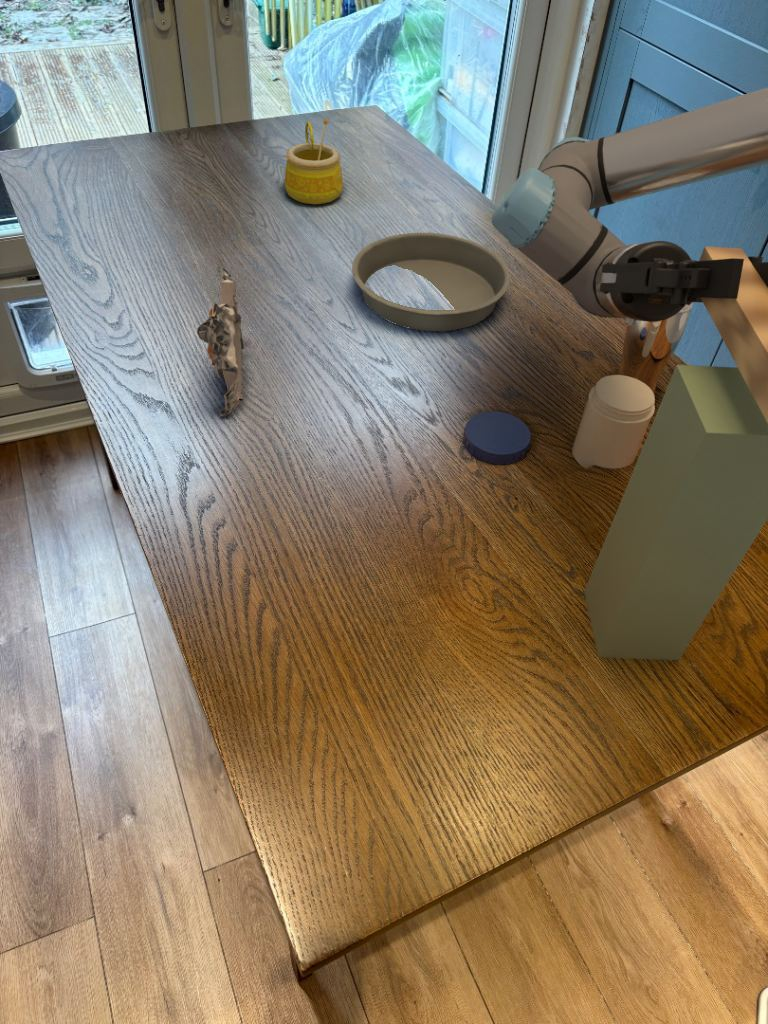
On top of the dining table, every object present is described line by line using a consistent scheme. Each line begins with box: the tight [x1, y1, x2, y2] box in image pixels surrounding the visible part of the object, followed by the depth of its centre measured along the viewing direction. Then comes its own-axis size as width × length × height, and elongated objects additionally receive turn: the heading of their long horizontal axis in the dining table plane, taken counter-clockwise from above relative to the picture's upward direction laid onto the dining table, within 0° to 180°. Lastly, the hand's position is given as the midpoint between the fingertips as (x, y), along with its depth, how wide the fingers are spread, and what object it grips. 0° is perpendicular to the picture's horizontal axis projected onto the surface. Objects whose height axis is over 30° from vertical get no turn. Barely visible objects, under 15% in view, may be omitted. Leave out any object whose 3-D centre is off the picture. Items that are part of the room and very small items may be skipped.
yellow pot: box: [284, 118, 344, 205], centre depth 138 cm, size 13×11×12 cm
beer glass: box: [616, 302, 694, 396], centre depth 99 cm, size 7×7×15 cm
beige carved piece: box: [196, 266, 244, 419], centre depth 96 cm, size 15×4×13 cm, turn 6°
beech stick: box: [698, 246, 768, 423], centre depth 53 cm, size 20×3×3 cm, turn 0°
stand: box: [583, 364, 768, 661], centre depth 66 cm, size 8×8×30 cm
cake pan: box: [351, 232, 511, 332], centre depth 118 cm, size 25×25×4 cm
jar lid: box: [462, 410, 532, 465], centre depth 95 cm, size 8×8×2 cm
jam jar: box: [571, 374, 656, 469], centre depth 92 cm, size 8×8×10 cm
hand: (760, 279), depth 53 cm, fingers closed on beech stick, 3 cm apart
